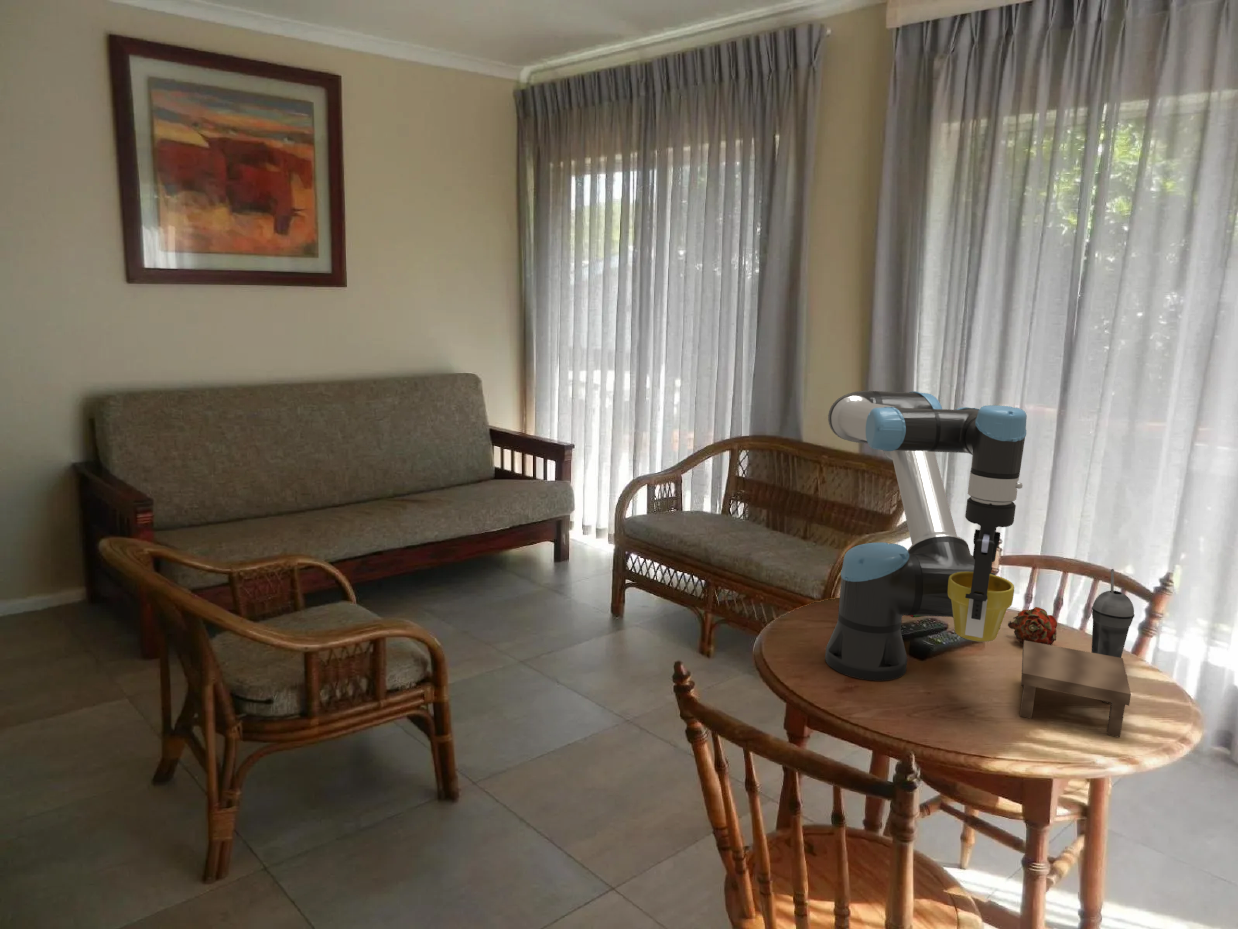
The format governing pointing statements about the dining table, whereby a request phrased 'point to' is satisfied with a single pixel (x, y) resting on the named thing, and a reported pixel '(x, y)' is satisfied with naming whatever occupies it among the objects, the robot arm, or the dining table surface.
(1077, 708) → the dining table surface
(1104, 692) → the walnut stool
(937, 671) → the dining table surface
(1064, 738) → the dining table surface
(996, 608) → the plant pot
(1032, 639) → the dragon fruit
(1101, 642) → the beverage cup
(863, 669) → the robot arm
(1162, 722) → the dining table surface
